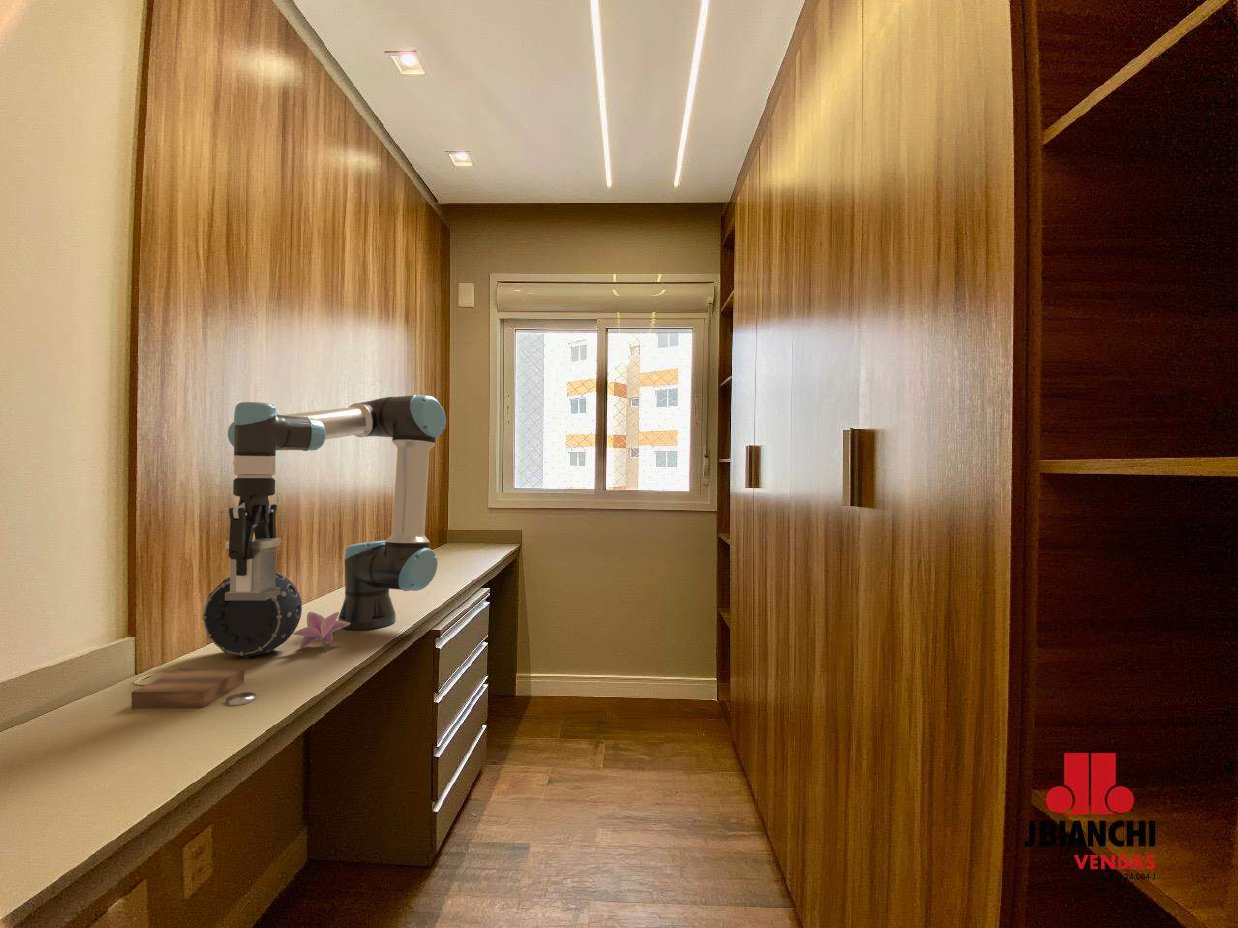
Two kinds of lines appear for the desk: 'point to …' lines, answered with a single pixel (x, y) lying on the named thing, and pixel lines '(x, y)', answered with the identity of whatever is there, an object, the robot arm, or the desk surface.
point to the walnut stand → (188, 688)
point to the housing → (257, 571)
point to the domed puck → (241, 698)
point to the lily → (320, 628)
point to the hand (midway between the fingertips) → (253, 587)
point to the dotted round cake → (252, 619)
